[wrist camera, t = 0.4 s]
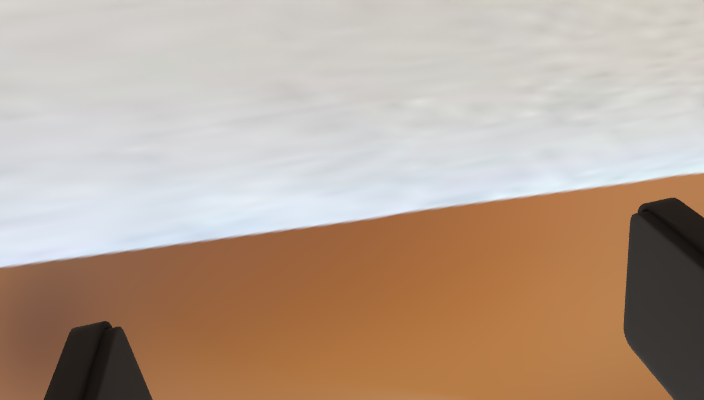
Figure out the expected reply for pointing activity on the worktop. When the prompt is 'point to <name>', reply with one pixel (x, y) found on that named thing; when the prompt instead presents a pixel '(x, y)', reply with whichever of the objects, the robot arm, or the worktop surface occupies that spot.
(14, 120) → the worktop surface
